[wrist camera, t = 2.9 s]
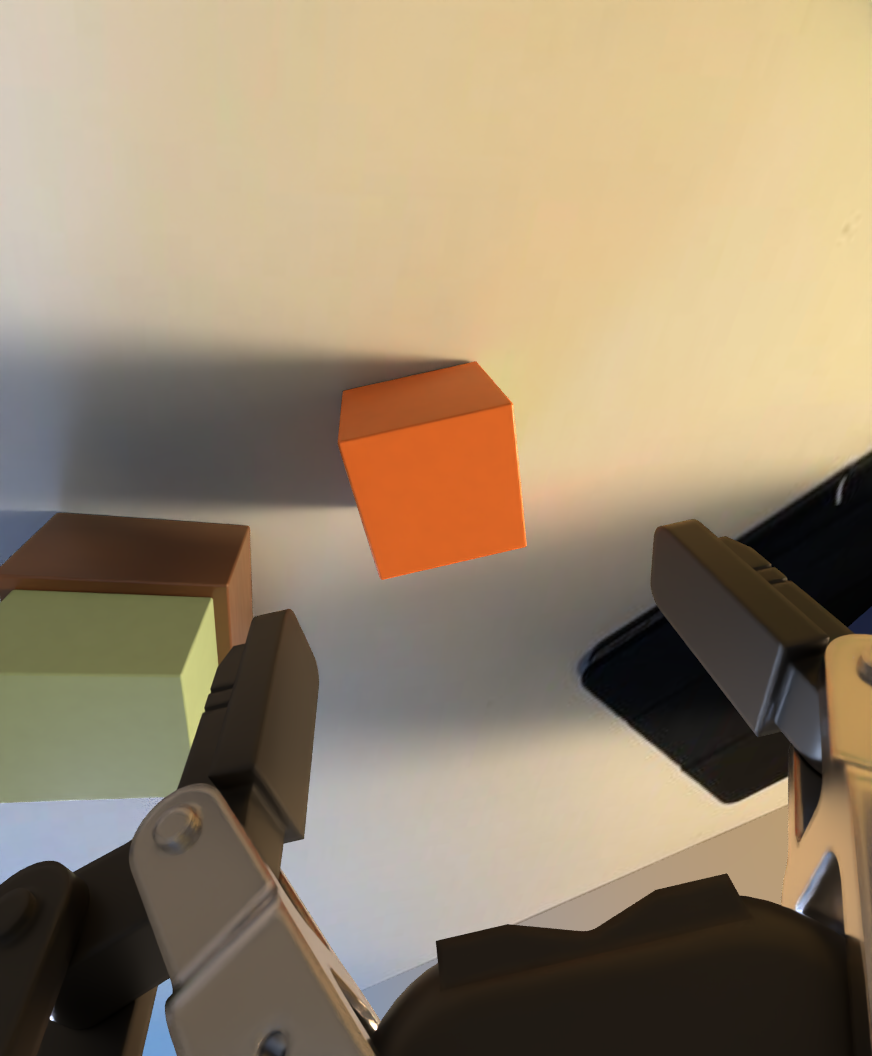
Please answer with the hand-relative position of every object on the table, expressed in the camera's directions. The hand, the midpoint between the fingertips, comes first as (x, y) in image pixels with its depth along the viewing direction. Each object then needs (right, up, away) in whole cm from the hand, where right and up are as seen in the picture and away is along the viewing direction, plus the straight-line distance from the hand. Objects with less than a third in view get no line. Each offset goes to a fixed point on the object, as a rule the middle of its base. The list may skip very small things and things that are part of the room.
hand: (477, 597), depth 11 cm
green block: (-12, -3, +7) cm, 14 cm away
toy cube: (-1, +5, +8) cm, 10 cm away
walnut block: (-13, -1, +10) cm, 16 cm away
